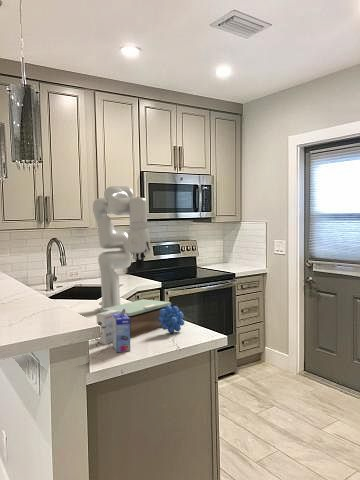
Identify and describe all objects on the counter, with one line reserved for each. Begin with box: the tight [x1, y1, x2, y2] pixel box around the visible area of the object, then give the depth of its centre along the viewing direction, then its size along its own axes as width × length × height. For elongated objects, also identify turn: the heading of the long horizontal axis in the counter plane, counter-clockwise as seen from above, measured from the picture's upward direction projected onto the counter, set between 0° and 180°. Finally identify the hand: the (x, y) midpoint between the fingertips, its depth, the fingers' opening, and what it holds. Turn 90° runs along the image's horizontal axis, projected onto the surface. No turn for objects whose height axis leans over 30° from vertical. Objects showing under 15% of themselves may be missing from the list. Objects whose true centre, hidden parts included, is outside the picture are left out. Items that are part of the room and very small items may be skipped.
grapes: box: [158, 305, 185, 334], centre depth 164 cm, size 12×7×12 cm, turn 113°
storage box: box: [128, 307, 165, 339], centre depth 175 cm, size 18×24×8 cm
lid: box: [101, 298, 172, 316], centre depth 174 cm, size 19×25×2 cm
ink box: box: [96, 310, 120, 345], centre depth 156 cm, size 9×5×12 cm, turn 141°
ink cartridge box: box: [112, 309, 131, 353], centre depth 147 cm, size 10×6×14 cm, turn 17°
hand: (140, 268), depth 172 cm, fingers closed
